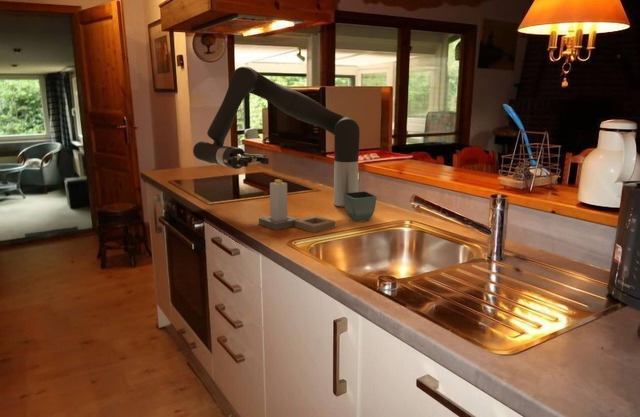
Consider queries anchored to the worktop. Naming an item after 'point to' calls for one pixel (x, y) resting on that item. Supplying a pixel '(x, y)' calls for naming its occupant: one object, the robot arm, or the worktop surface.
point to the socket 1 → (277, 225)
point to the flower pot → (359, 205)
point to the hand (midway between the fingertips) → (257, 162)
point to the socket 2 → (315, 223)
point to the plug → (278, 201)
